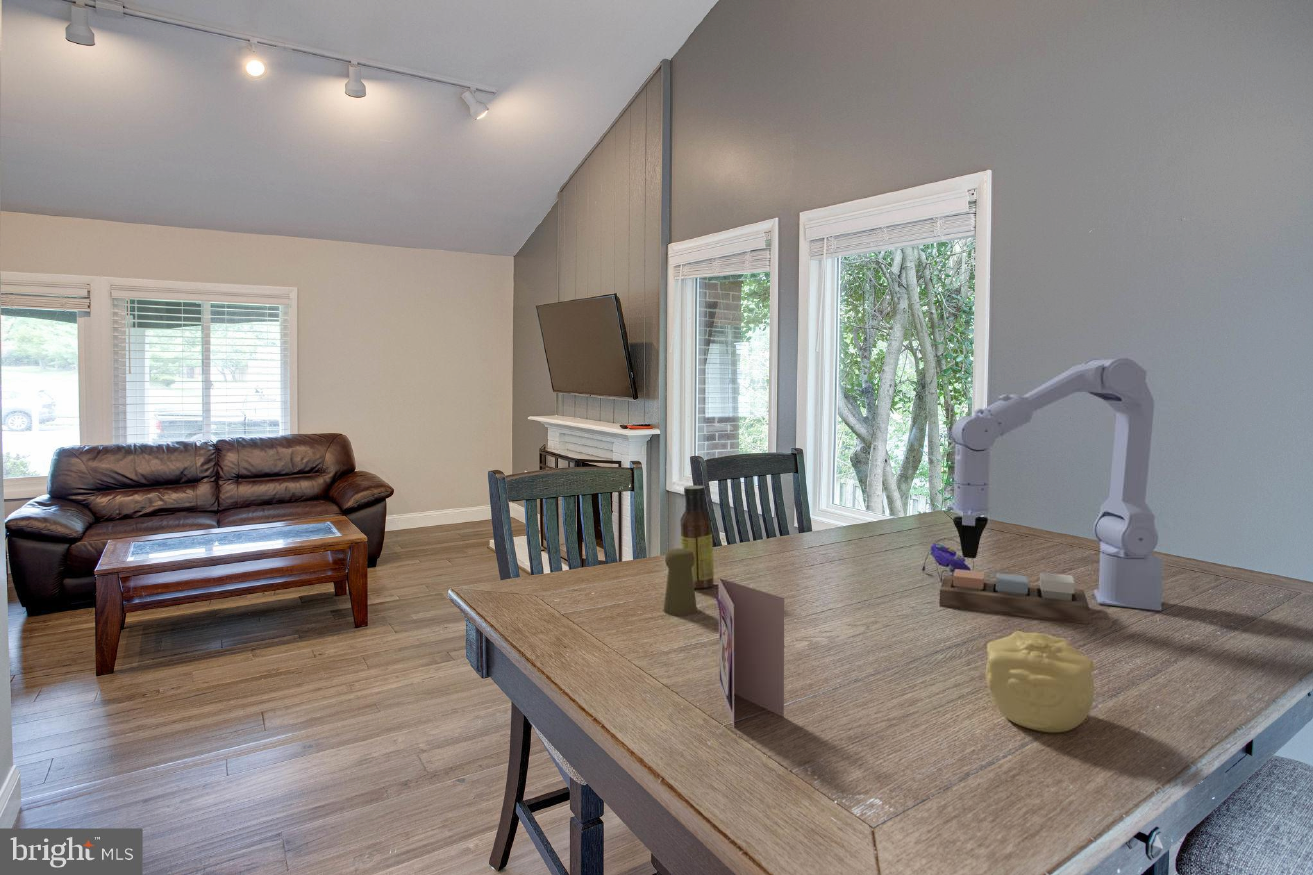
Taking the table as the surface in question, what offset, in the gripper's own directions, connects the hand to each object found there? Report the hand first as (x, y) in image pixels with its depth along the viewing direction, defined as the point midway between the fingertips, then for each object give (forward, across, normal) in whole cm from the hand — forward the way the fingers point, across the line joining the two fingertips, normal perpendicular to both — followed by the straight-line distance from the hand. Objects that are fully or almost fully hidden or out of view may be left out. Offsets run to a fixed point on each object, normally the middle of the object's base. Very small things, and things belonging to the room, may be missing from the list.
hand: (969, 557), depth 131 cm
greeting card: (+8, +56, -23) cm, 61 cm away
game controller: (+9, -16, -5) cm, 19 cm away
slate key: (+6, 0, +7) cm, 10 cm away
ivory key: (+6, 0, +14) cm, 15 cm away
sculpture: (+8, +45, +10) cm, 47 cm away
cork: (+8, +26, -46) cm, 53 cm away
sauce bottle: (+8, +11, -49) cm, 51 cm away
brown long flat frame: (+8, 0, +7) cm, 11 cm away
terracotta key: (+6, 0, 0) cm, 6 cm away
